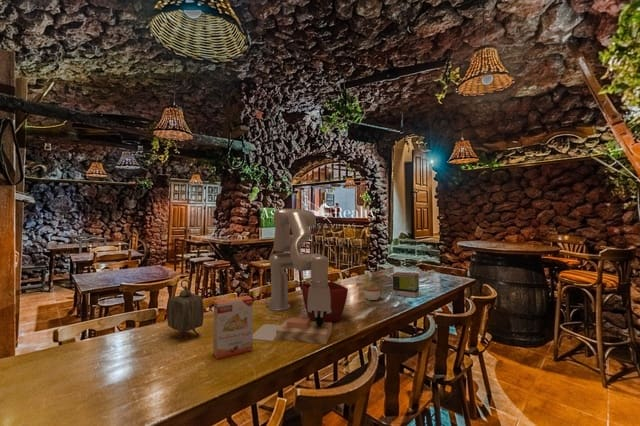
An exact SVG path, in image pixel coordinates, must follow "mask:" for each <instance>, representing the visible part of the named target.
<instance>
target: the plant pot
mask: <svg viewBox="0 0 640 426" xmlns="http://www.w3.org/2000/svg"><path fill="white" fill-rule="evenodd" d="M300 286H301V294H302V300H303V302H304V304H303V305H304V307H305V311H306V313H307V316H308V318H309V319H310V320H311V321H315V322H316V317H315V315H314V314H313V313H311V312H308V311H307V310H308V308H307V300H308V291H309V287H310V286H311V285H310V284H308V283H302V284H301V285H300ZM328 287H329V288H330V294H331V311H332V312H331V313H328V314H325V315H324V316H323V322H328V323H335V322H339V321H340V320H341V317H342V314H343V312H344V308H345V307H346V301H347V299H348V297H347V296H348V292H349V289H348V287H345V286H343V285H341V284H339V283H336V282H335V281H328ZM318 312H319V315H320V314H321V311H318Z"/></svg>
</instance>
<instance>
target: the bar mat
mask: <svg viewBox="0 0 640 426" xmlns="http://www.w3.org/2000/svg"><path fill="white" fill-rule="evenodd" d="M281 325H282V324H274V323H273V324H271V323H270V324H269V323H264V324H263V325H262V326H260V327H259V328H258V329H257V330H256V331H255V332H253V340H254V341H266V342H273V341H274V340H276V330H277V329H278V328H279V327H280V326H281Z"/></svg>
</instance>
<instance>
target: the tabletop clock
mask: <svg viewBox="0 0 640 426" xmlns="http://www.w3.org/2000/svg"><path fill="white" fill-rule="evenodd" d="M183 282H186V283H188V285H189V286H187V285H185V286H183ZM180 287H181V288H182V289H183V290H181V291H180V292H179V294H178V295H175V296H172V297H171V298H170V299H168V301H167V308H166V309H167V311H166V313H167V314H166V315H167V319H166V320H167V325H168V327H169V328H171V329H173V330H175V331H178V332H180V334H178V338H179V339H181V338H183V333H185V332H189V331H192V332H193V333H194V334H195V337H197V338H199V336H200V333H199V332H197V331H196V329H197V328H201V327H203V324H204V310H205V309H204V301H203V298H202V296H200V295H198V294H195V293H192V291H191V290H189V289H191V282H190V281H189V280H187V279H182V280H181V282H180Z"/></svg>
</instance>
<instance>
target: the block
mask: <svg viewBox="0 0 640 426" xmlns="http://www.w3.org/2000/svg"><path fill="white" fill-rule="evenodd" d="M310 321H311V318H306V317H305V318H304V317H303V318H302V317H289V319H288V321H287V328H298V329H307V328H308V326H309V325H310Z"/></svg>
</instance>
